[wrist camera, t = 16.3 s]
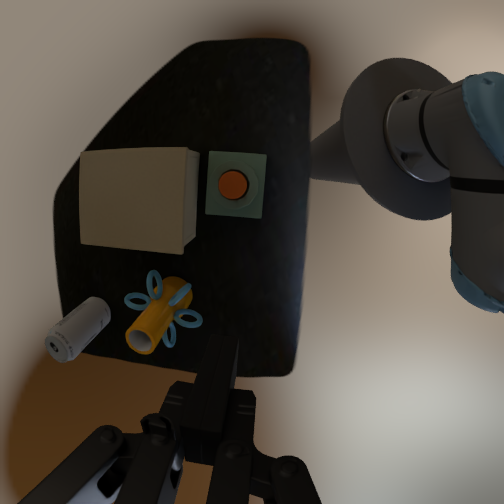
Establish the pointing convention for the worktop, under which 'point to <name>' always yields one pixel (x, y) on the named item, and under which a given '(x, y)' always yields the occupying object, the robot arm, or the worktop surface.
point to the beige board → (134, 198)
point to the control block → (255, 176)
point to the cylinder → (160, 313)
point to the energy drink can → (77, 329)
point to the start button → (232, 185)
